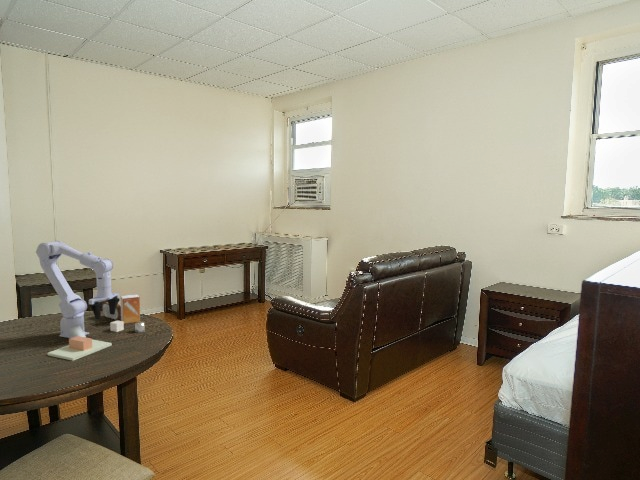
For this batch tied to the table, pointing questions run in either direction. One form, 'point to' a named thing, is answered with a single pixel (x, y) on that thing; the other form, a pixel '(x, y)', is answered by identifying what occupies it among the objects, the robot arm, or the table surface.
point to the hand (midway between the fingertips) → (105, 316)
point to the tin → (107, 313)
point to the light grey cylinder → (140, 327)
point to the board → (78, 351)
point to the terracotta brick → (80, 343)
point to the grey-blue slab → (77, 332)
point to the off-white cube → (117, 326)
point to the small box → (130, 308)
